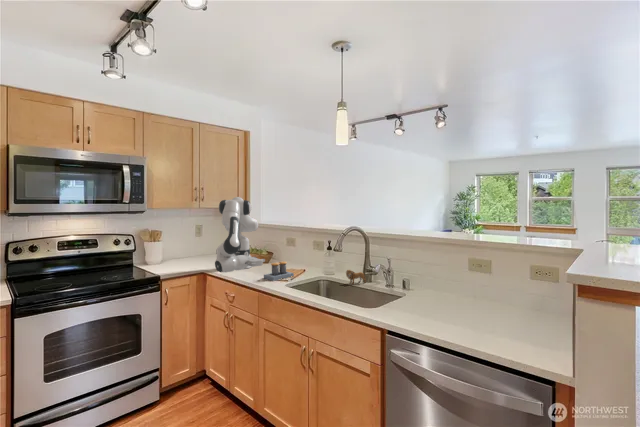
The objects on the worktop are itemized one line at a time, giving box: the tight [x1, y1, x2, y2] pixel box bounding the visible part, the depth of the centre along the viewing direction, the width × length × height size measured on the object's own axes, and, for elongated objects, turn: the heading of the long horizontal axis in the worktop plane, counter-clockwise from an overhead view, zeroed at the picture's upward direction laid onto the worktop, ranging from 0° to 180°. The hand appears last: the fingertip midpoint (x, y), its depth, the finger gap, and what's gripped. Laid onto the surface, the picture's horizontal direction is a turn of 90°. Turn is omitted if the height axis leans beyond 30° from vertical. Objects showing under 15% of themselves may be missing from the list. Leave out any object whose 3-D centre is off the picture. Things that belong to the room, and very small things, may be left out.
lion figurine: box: [345, 269, 367, 285], centre depth 207 cm, size 15×5×9 cm, turn 114°
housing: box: [263, 270, 295, 282], centre depth 224 cm, size 11×17×2 cm, turn 135°
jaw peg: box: [270, 262, 279, 276], centre depth 222 cm, size 6×6×10 cm
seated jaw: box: [278, 261, 288, 274], centre depth 227 cm, size 6×6×10 cm
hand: (260, 259), depth 214 cm, fingers open, 8 cm apart
